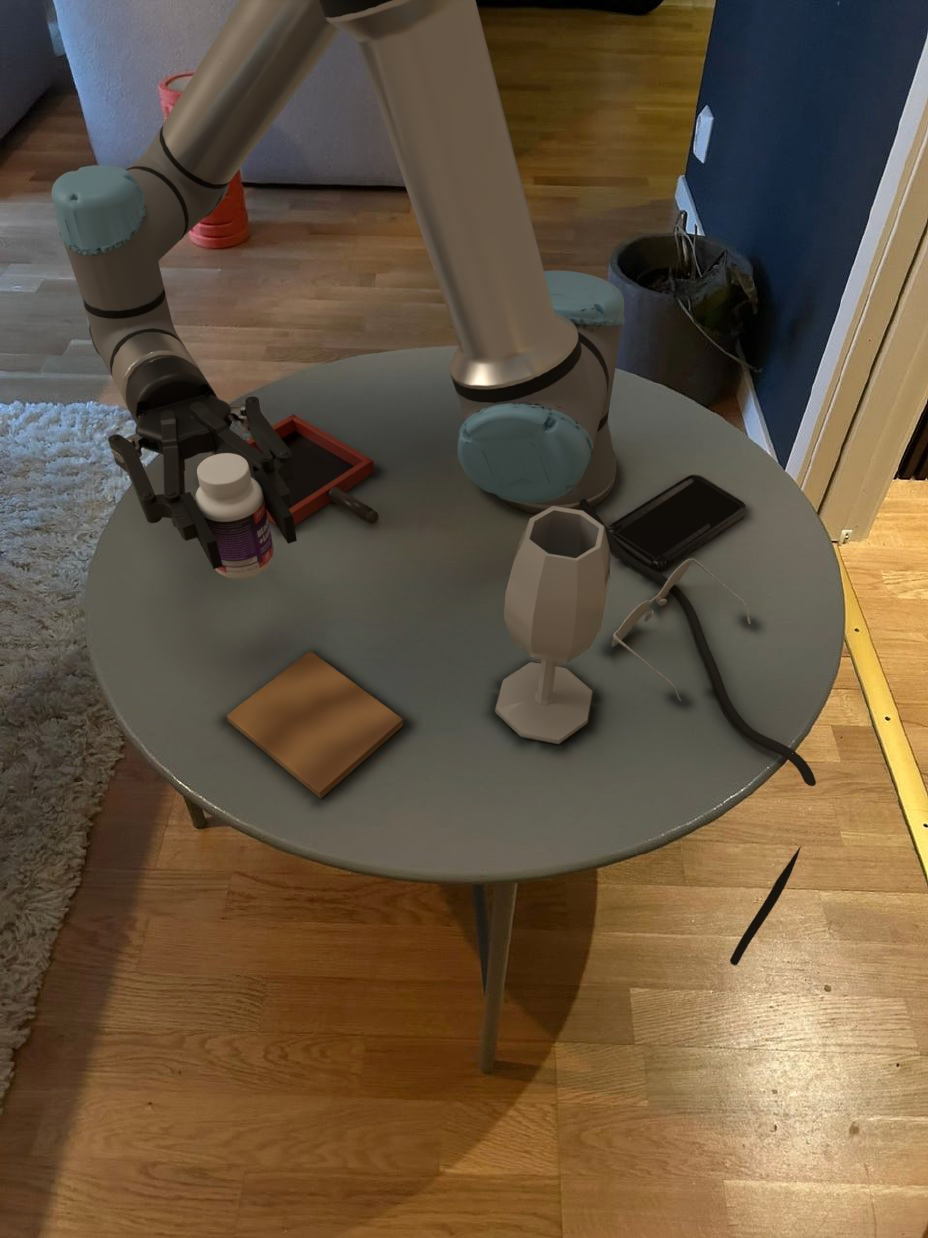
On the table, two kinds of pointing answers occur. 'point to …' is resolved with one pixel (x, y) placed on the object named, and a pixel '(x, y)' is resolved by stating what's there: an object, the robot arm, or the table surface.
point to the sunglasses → (642, 608)
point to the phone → (676, 522)
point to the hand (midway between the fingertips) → (253, 541)
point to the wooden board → (315, 723)
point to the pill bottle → (235, 515)
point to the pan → (322, 470)
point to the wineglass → (554, 621)
